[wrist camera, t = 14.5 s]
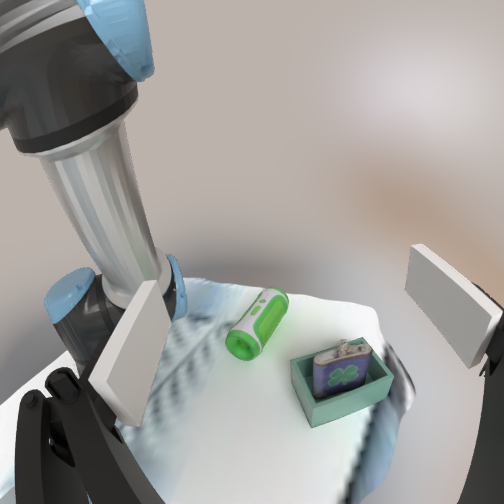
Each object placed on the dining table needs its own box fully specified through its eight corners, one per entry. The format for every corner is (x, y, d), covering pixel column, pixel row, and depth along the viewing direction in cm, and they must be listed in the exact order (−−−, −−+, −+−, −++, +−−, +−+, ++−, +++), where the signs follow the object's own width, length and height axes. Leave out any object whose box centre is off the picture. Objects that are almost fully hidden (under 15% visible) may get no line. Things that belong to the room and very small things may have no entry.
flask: (313, 401, 38) (315, 357, 33) (309, 387, 40) (310, 343, 36) (366, 387, 38) (377, 342, 34) (361, 375, 40) (370, 330, 36)
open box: (291, 382, 44) (290, 360, 41) (358, 359, 45) (362, 336, 43) (311, 428, 34) (312, 408, 32) (385, 398, 36) (393, 376, 33)
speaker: (263, 309, 66) (260, 282, 63) (291, 313, 62) (289, 286, 59) (227, 357, 52) (219, 329, 49) (259, 366, 48) (254, 338, 45)
